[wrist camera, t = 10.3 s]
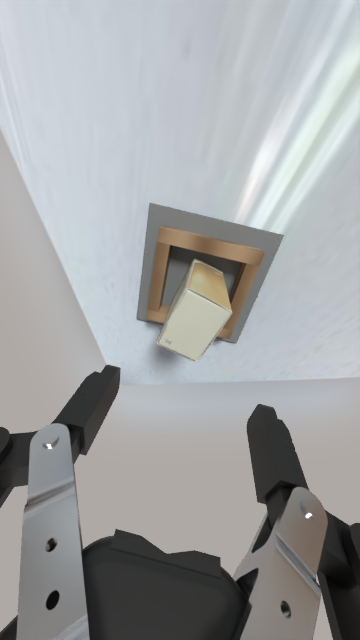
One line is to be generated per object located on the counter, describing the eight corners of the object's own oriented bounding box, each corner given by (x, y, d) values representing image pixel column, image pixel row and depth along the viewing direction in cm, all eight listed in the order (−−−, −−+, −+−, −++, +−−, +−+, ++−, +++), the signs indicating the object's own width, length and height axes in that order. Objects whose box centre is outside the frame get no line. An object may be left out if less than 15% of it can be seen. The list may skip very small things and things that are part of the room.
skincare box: (200, 308, 29) (195, 366, 19) (174, 294, 29) (153, 346, 18) (225, 269, 26) (235, 313, 16) (195, 253, 26) (185, 287, 15)
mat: (282, 235, 24) (283, 235, 23) (236, 341, 32) (236, 343, 32) (150, 203, 24) (149, 203, 24) (137, 317, 32) (136, 318, 32)
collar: (259, 248, 24) (264, 253, 22) (227, 329, 31) (229, 339, 28) (163, 225, 25) (159, 227, 22) (150, 310, 31) (146, 318, 28)
